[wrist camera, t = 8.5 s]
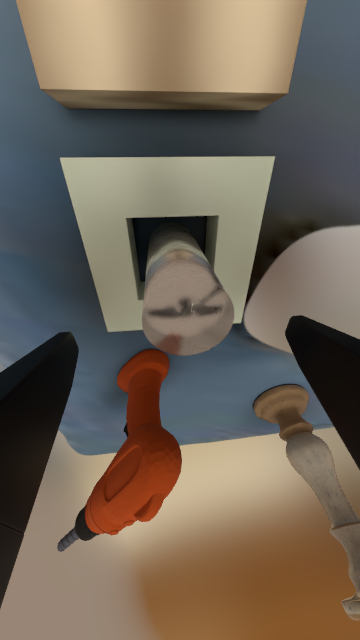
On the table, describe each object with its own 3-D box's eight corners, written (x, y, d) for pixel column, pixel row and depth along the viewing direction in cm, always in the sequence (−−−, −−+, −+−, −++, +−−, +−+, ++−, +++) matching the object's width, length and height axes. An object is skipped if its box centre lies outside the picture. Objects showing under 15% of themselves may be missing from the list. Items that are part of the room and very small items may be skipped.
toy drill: (70, 427, 30) (20, 596, 17) (144, 338, 25) (153, 486, 12) (101, 435, 32) (77, 591, 19) (176, 354, 27) (211, 495, 14)
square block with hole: (251, 159, 15) (275, 156, 12) (229, 303, 22) (240, 322, 19) (79, 160, 14) (59, 157, 11) (114, 310, 21) (107, 331, 18)
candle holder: (310, 378, 31) (482, 606, 15) (300, 409, 36) (419, 603, 20) (254, 389, 31) (362, 626, 15) (251, 418, 37) (330, 618, 20)
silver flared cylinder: (195, 221, 17) (241, 276, 8) (194, 268, 19) (227, 352, 10) (146, 223, 16) (135, 281, 8) (150, 270, 19) (146, 358, 10)
